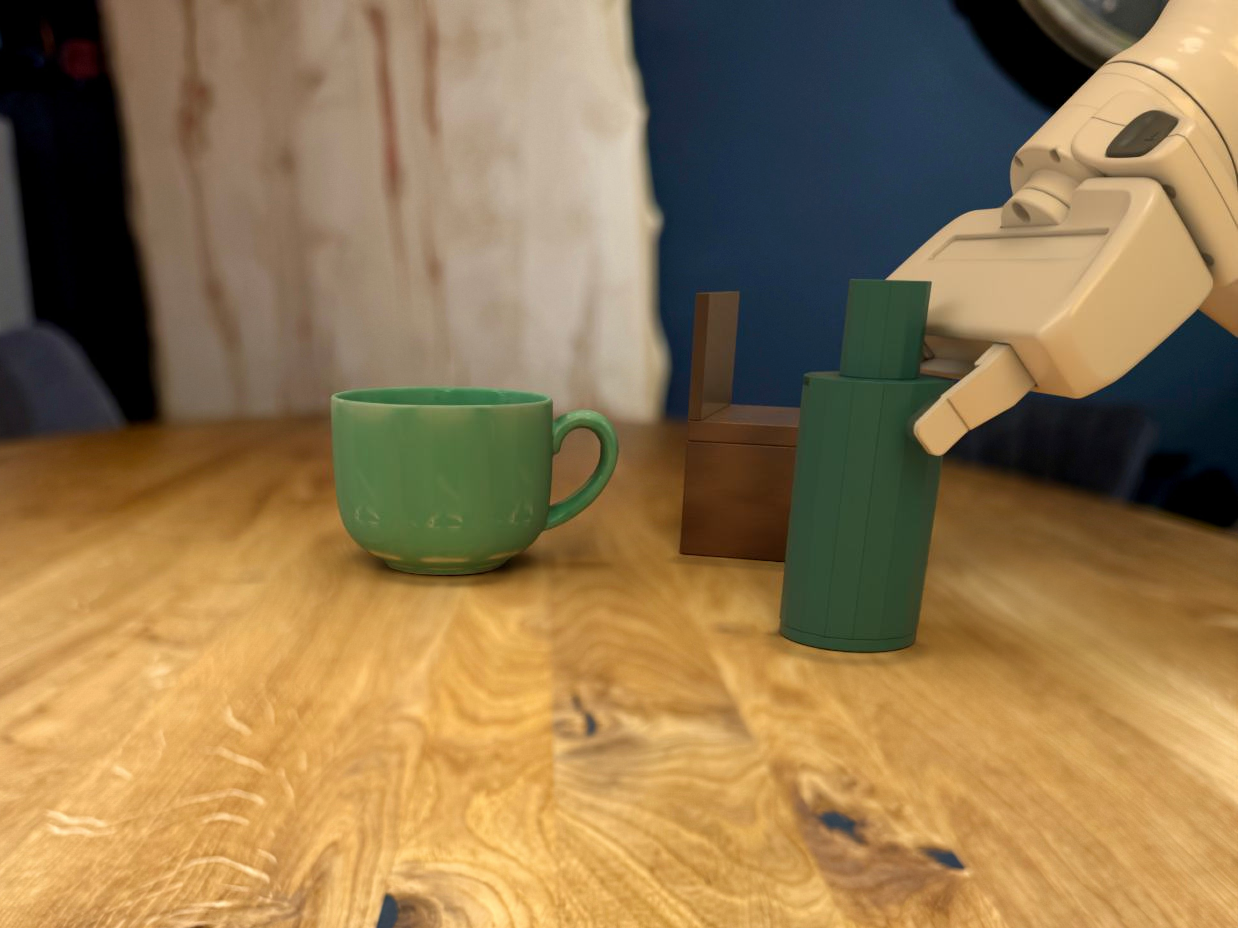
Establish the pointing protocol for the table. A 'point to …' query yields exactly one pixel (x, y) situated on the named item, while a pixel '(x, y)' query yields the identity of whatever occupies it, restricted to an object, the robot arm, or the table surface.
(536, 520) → the mug
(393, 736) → the table surface
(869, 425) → the bottle
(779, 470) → the wooden toy chair
